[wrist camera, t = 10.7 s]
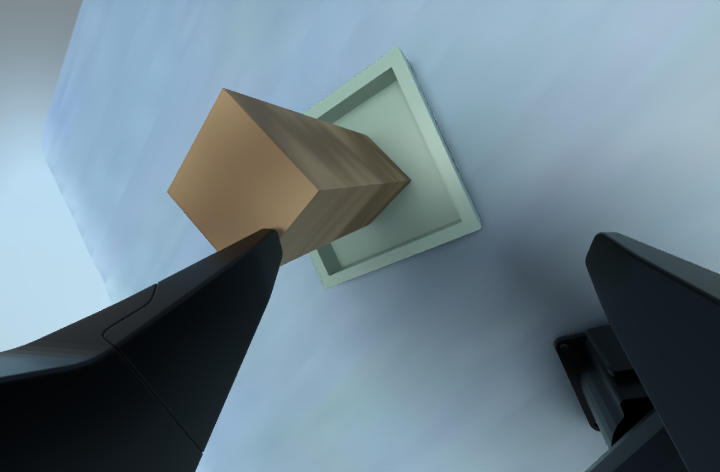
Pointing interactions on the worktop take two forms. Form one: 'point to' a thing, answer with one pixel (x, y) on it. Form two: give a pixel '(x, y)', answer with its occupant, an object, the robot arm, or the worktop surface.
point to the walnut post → (281, 177)
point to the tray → (412, 155)
